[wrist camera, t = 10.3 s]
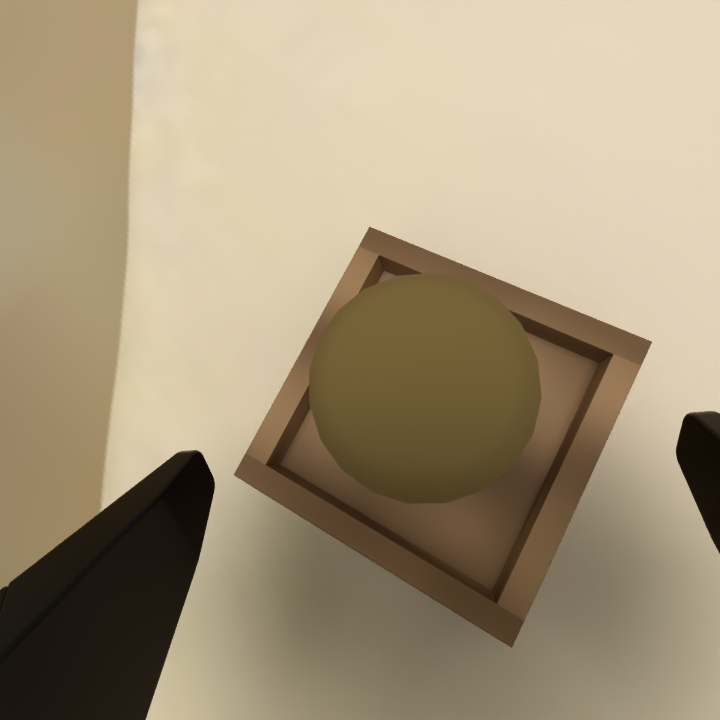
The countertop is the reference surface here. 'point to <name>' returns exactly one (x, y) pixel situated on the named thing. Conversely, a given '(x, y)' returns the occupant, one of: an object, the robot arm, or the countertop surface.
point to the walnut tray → (479, 510)
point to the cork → (424, 388)
